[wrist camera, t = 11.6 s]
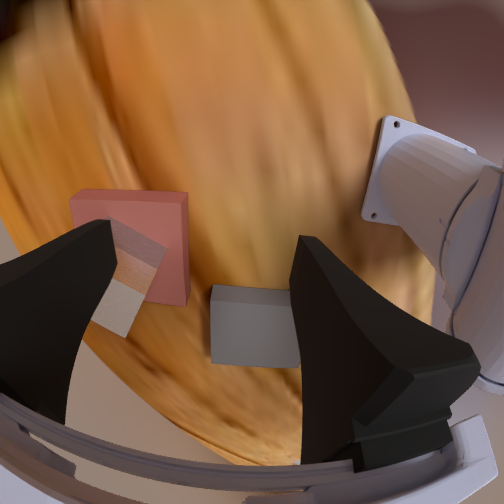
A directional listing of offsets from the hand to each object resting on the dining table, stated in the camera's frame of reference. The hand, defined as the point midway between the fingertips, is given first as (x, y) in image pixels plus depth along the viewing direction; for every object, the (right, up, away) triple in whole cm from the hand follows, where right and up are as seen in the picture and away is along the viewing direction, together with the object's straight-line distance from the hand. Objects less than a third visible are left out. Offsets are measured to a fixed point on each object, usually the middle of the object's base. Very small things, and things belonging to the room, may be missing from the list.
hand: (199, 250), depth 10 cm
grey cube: (-7, 0, +9) cm, 12 cm away
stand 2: (+3, -7, +16) cm, 17 cm away
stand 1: (-7, +1, +11) cm, 13 cm away
